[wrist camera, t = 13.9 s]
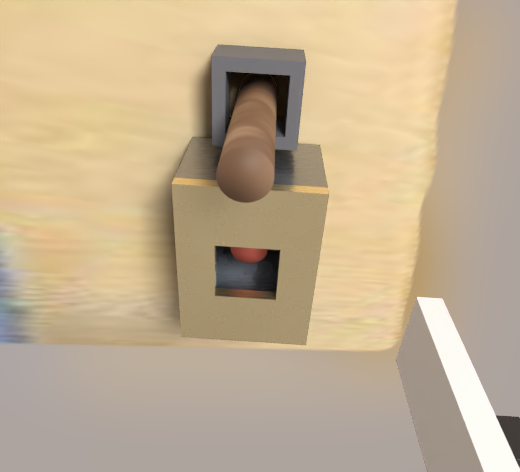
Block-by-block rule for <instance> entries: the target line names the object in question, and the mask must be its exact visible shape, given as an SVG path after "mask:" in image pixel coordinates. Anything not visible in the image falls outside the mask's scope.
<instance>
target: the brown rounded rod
mask: <svg viewBox="0 0 520 472" xmlns="http://www.w3.org/2000/svg"><path fill="white" fill-rule="evenodd" d="M276 110H277V85H276V83H275V81H274V79H273V78H272V77H271V76H270V75H269V74H258V73H250V74H248V75H247V76H246V77H245V78H244V79H243V81H242V83H241V86H240V90H239V93H238V97H237V100H236V104H235V107H234V111H233V114H232V118H231V121H230V125H229V128H228V132H227V135H226V139H225V142H224V146H223V149H222V153H221V156H220V160H219V163H218V167H217V171H216V180H217V184H218V186H219V188H220V189H221V191H222V192H223V193H224V194H225V195H226V196H227V197H229V198H230V199H232V200H235V201H237V202H243V203H250V202H255V201H258V200H260V199H262V198H263V197H265V196H266V195H267V194H268V193H269V192H270V190H271V188H272V186H273V183H274V171H275V141H276Z"/></svg>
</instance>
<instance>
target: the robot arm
mask: <svg viewBox="0 0 520 472" xmlns="http://www.w3.org/2000/svg"><path fill="white" fill-rule="evenodd" d="M396 362H397V366H398V369H399V373H400V376H401V380H402V384H403V387H404V390H405V394H406V398H407V402H408V405H409V409H410V412H411V416H412V420H413V423H414V427H415V430H416V434H417V437H418V441H419V445H420V448H421V451H422V455H423V459H424V463H425V466H426V470H427V472H520V418H519V417H511V416H496V415H495V413H494V411H493V409H492V407H491V405H490V402H489V400H488V398H487V396H486V394H485V391H484V390H483V387H482V385H481V383H480V380H479V378H478V376H477V374H476V372H475V369H474V367H473V365H472V363H471V361H470V358H469V356H468V354H467V352H466V350H465V347H464V345H463V343H462V341H461V339H460V336H459V334H458V332H457V330H456V328H455V325H454V323H453V322H452V319H451V317H450V314H449V312H448V310H447V308H446V306H445V304H444V301H443V299H441V298H425V297H417V298H416V300H415V303H414V306H413V309H412V312H411V315H410V319H409V322H408V325H407V328H406V331H405V334H404V337H403V340H402V343H401V346H400V349H399V352H398V355H397V358H396Z"/></svg>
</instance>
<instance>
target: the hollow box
mask: <svg viewBox="0 0 520 472" xmlns="http://www.w3.org/2000/svg"><path fill="white" fill-rule="evenodd" d="M222 149H223V146H217V145H212V138H203V137H193V138H192V140H191V142H190V144H189V146H188V149H187V151H186V153H185V155H184V157H183V160H182V162H181V164H180V166H179V168H178V171H177V173H176V175H175V177H174V179H173V182H172V184H171V185H172V201H173V217H174V233H175V248H176V264H177V280H178V296H179V311H180V327H181V337H192V338H207V339H222V340H237V341H252V342H266V343H281V344H296V345H306V341H307V334H308V328H309V321H310V315H311V308H312V302H313V295H314V289H315V282H316V276H317V269H318V263H319V256H320V250H321V243H322V237H323V230H324V224H325V217H326V211H327V204H328V198H329V191H328V186H327V181H326V175H325V170H324V164H323V159H322V153H321V148H320V145H311V144H298V145H297V151H295V150H279V149H275V171H274V183H273V186H272V188H271V190H270V192H269V193H268V194H267V195H266V196H265V197H263V198H262V199H260V200H258V201H255V202H250V203H243V202H237V201H235V200H232V199H230V198H229V197H227V196H226V195H225V194H224V193H223V192H222V191H221V189H220V188H219V186H218V184H217V180H216V171H217V167H218V163H219V160H220V156H221V153H222ZM230 247H242V248H257V249H268V252H267V254H266V256H265V257H264V258H263V259H262V260H260V261H258V262H256V263H244V262H241V261H239V260H238V259H236V258H235V257H234V256H233V254H232V252H231V248H230Z"/></svg>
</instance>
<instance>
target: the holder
mask: <svg viewBox="0 0 520 472" xmlns="http://www.w3.org/2000/svg"><path fill="white" fill-rule="evenodd" d="M211 63H212V145H217V146H224V142H225V139H226V135H227V132H228V128H229V125H230V121H231V118H232V117H230V91H231V72H242V73H258V74H274V75H289V76H288V88H287V100H286V112H285V120H276V141H275V149H279V150H295V151H297V145H298V135H299V125H300V115H301V106H302V96H303V86H304V77H305V67H306V59H305V54H304V50H296V49H280V48H264V47H249V46H233V45H218V46H217V47H216V49H215V51H214V52H213V54H212V56H211Z"/></svg>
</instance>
